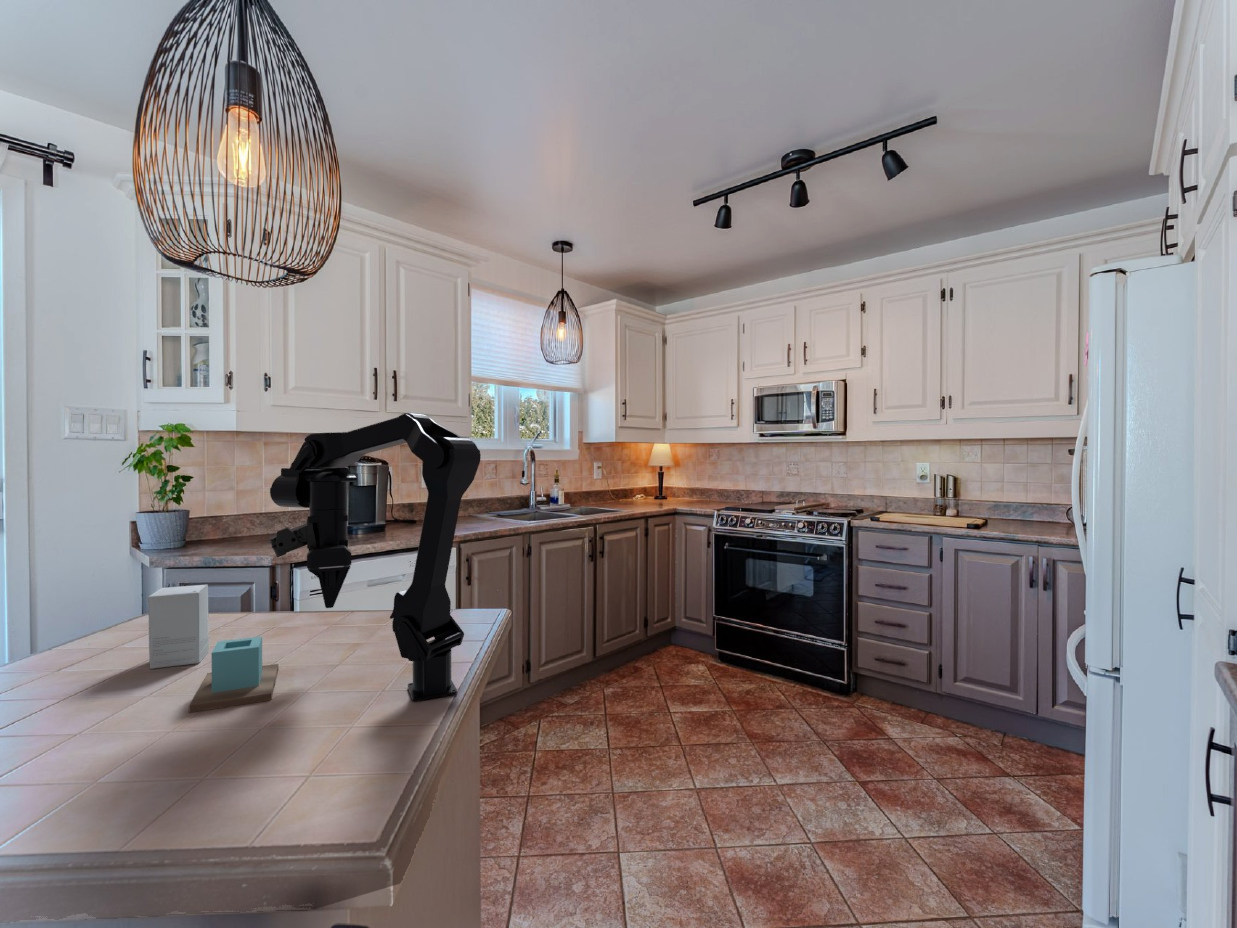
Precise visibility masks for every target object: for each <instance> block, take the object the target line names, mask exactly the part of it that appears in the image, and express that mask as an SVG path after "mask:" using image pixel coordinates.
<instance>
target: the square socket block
mask: <svg viewBox="0 0 1237 928" xmlns="http://www.w3.org/2000/svg"><path fill="white" fill-rule="evenodd" d="M262 666H263V636H254V637H247V638H238V639H237V638H236V639H228V640H220V641H217V642H216V644H215V645H214V648H213V650H212V651H211V672H212V693H215V692H222V691H229V690H235V689H242V688H249V687H256V686H259V684H260V680H261V676H262Z"/></svg>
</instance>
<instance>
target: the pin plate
mask: <svg viewBox="0 0 1237 928" xmlns="http://www.w3.org/2000/svg"><path fill="white" fill-rule="evenodd" d="M278 672H279V663H274V664H265V665H262V676H261V680H260V684H259V686H256V687H249V688H242V689H235V690H229V691H222V692H215V693H212V671H211V672H207V673H206V675H205V677H204V678H203V681H202V682H201V684H200V686H199V687H198V689H197V691H196V693H195V695H194V696H193V697H192V700H191V702H190V703H189V705H188V711H189V712H188V713H196V712H203V711H209V710H214V709H221V708H228V707H234V706H241V705H247V704H254V703H260V702H267V701H271V700H272V698H273V694H274V690H275V686H276V682H277V681H276V680H277V678H278Z"/></svg>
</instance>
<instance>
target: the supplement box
mask: <svg viewBox="0 0 1237 928" xmlns="http://www.w3.org/2000/svg"><path fill="white" fill-rule="evenodd" d="M147 601H148V602H147V603H148V604H147V605H148V607H147V608H148V653H149V654H148V655H149V656H148V657H149V670H154V669H159V668H160V669H162V668H168V667H177V666H179V667H180V666H185V665H195V664H200V663H201V661H202V660H203V659H204V658H205V657H206V656H207V654H208V653H209V651H210V640H209V639H210V637H209V634H210V633H209V629H210V628H209V626H210V625H209V624H210V623H209V621H210V620H209V584H198V585H185V586H183V585H181V586H171V587H170V586H169V587H168V586H167V587H161V588H159V589H158V590H156V591H155V592H153V593H151V594H150V595H148V596H147Z"/></svg>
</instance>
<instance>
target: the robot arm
mask: <svg viewBox="0 0 1237 928" xmlns="http://www.w3.org/2000/svg"><path fill="white" fill-rule="evenodd" d="M402 444H407V446H408V448H409V449H410V452H411V453H412V454H413V455H415V456H416V457H417V458H418V459H420V460H421V461H422V463H421V464H422V465H421V466H422V467H421V468H422V469H421V476H422V478H423V481H424V484H425V488H426V490H427V500H426V505H425V510H424V515H423V521H422V528H421V532H420V538H419V543H418V547H417V555H416V560H415V565H414V570H413V577H412V582H411V584H410V586H409V587H408V588H407V589H405V590H401V591H398V592H396V593H395V594H394V598H393V609H392V612H391V614H390V616H389V619H390V620H392V624H391V625H392V627H391V628H392V632H393V634H394V636H395V639H396V643H397V646H398V650H399V653H400V656H401V658H402V659H407V660H408V661H409V662H412V682H410V683H408V684H407V689H408V691H409V695H410V698H411V700H412V701H413V702H418V701H423V700H430V699H435V698H440V697H446V696H452V695H457V694H458V689H457V688H456V685H455V684H454V681H452V649H453V648H456V647H457V646H459V647H460V646H461V645H462V644H463V643H462V642H463V640H464V636H465V632H464V631H463V629H462V628H461V627H460V626H459V624H458V623H457V622H456V620H455V619H454V617H452V615H451V608H452V607H451V606H452V605H451V604H452V603H451V602H452V601H451V598H450V595H449V592H448V590H447V588H446V582H447V576H448V573H449V572H448V571H449V566H450V562H451V561H450V560H451V555H452V549H453V545H454V538H455V535H456V534H455V533H456V529H457V528H456V527H457V524H458V519H459V512H460V506H461V502H462V498H463V496H464V495H465V493H466V491H467V490H468V489H469V487H470V486H471V485H472V483H473V482H474V479H475V477H476V474H477V472H478V468H479V466H480V463H481V455H482V454H481V450H480V449H479V448H478V446H477V444H476V443H475V442H474V441H473V440H471V439H469V438H463V437H462V436H460V435H459V434H458V433H455V432H454V431H452V430H450V429H448V428H446V427H445V426H443V425H441V424H439V423H437V422H436V421H434V420H433V419H432V418H431V417H429V416H428V415H426V414H423V413H422V414H421V413H411V412H410V413H409V412H407V413H406V412H405V413H402V414H401V415H399V416H397V417H393V418H390V419H387V420H384V421H380V422H377V423H373V424H370V425H366V426H363V427H360V428H357V429H352V430H350V431H349V430H348V431H342V432H337V431H336V432H319V433H318V432H317V433H315V432H314V433H310V434H308V435H307V436H306V437H305V438H304V442H303V443H302V445H301V447H300V448H299V450H298V452H297V454H296V456H295V458H294V460H293V461H292V462H291V464H290V467H286V468H285V467H282V468H281V469H280V475H278V476H277V477H276V478H275V479H274V480H273V482H272V484H271V487H270V488H269V496H270V498H271V500H272V501H273V503H274V504H275V505H277V506H279V507H281V508H282V507H283V508H301V509H302V508H304V509H305V508H306V509H307V508H309V510H308V511H309V513H308V514H309V515H308V516H307V518H306V523H305V524H301V525H298V526H296V527H293V528H290V527H289V526H288V527H287V526H286V527H285V528H283V529H278V530H277V531H276V534H275V535H272V536H270V537H269V539H268V541H269V542H270V545H271V548H272V550H273V551H274V553H275V557H277V558H279V557H283V556H286V555H287V554H288V553H290V552H292V551H294V550H298V549H300V548H303V547H305V546H306V549H308V552H307V553H306V568H307V572H308V571H309V573H311V574H313V575H314V576H316V577H317V578H318V581H319V584H320V585H319V586H320V590H321V593H322V594H321V595H322V598H323V602H324V607H325V609H332V608H334V607H335V605H336V601H337V600H338V596H339V595H340V592H341V589H342V588H343V585H344V582H345V580H346V578H347V575H348V573H349V571H350V569H351V565H352V552H351V549H350V548H348V547H349V539H348V521H349V519H348V518H349V514H348V482H349V483H351V482H357V481H358V477H357V476H356V475H355V474H354V473H353V472H351V471H350V469H349V468H348V467H349V466H352V465H353V464H355V463H357V462H359V461H360V459H361V458H362V457H363V456H365V455H367V454H370V453H374V452H377V451H381V450H385V449H388V448H393V447H395V446H398V445H399V446H401V445H402ZM432 638H434V639H432ZM429 639H431V640H429ZM427 640H428V641H427Z"/></svg>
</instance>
